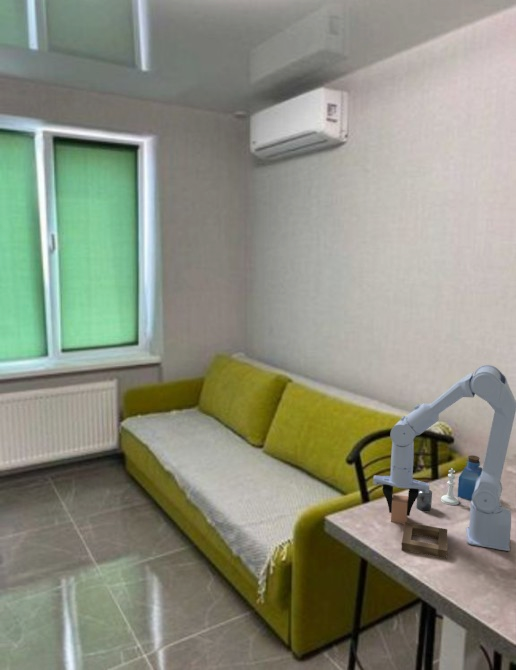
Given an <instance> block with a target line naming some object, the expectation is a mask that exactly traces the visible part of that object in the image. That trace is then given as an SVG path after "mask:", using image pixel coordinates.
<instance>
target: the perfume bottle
mask: <svg viewBox="0 0 516 670" xmlns="http://www.w3.org/2000/svg"><path fill="white" fill-rule="evenodd" d="M467 457H468V459H467V460H466V462H467V463H466V464H467V465H466V466H465V467H464V469H463V470H462V472H461V474H460V475H459V477H458V484H457V486H458V487H457V498H462V499H466V500H468V501H472V494H473V492H474V490H475V483H476V480H477V479H478V478H479V477H480V475H481V473H482V469H483V467H481V466H480V465H481V464H480V463H481V462H480V456H477V455H468V456H467Z"/></svg>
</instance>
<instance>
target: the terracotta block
mask: <svg viewBox="0 0 516 670" xmlns="http://www.w3.org/2000/svg"><path fill="white" fill-rule="evenodd" d="M407 509H408V496H406V495H402V494H394V493H393V498H392V510H391V513H390V515H391V516H390V522H391V523H399V524H403V525H405V522H408V516H407Z"/></svg>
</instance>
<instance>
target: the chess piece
mask: <svg viewBox="0 0 516 670" xmlns="http://www.w3.org/2000/svg"><path fill="white" fill-rule="evenodd" d="M455 473H456V470H454V469H453V468H452V467H451V468H450V469H449V470H448V474H447V477H448V481H447V482H446V483H447V485H448V489H447V494H445V495H442V496H441V498H440V501H441V502H442V503H443V504H444V505H445V504H446V505H450V506H456V505H459V503H460V501H459V497H458V496H455V495H454V489H453V488H454V487H453V486H455V485H456V482H454V479H455V478H456V475H455Z"/></svg>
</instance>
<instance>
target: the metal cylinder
mask: <svg viewBox="0 0 516 670" xmlns="http://www.w3.org/2000/svg"><path fill="white" fill-rule="evenodd" d="M432 501H433V491H432V490H431V489H429V493H425V491H419V493H418V497H417V499H416V506H415V507H416V509H417V510H419V511H421V512H430V511H432V504H433V503H432Z"/></svg>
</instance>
